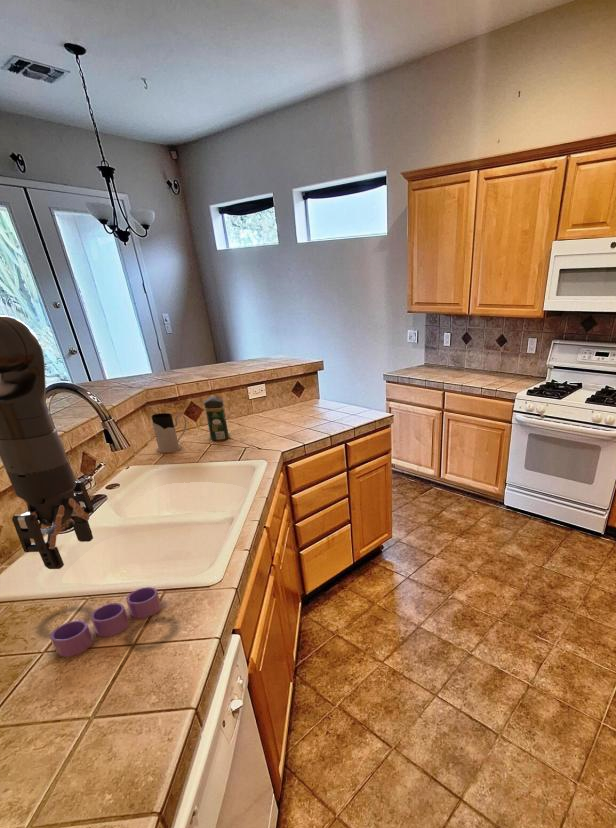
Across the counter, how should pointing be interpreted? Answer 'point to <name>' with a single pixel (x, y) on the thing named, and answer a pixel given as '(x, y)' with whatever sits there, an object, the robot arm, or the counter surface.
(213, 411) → the coffee jar
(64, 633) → the purple short hollow cylinder
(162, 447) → the grey mug
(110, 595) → the counter surface
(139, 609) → the dish far
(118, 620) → the dish middle
